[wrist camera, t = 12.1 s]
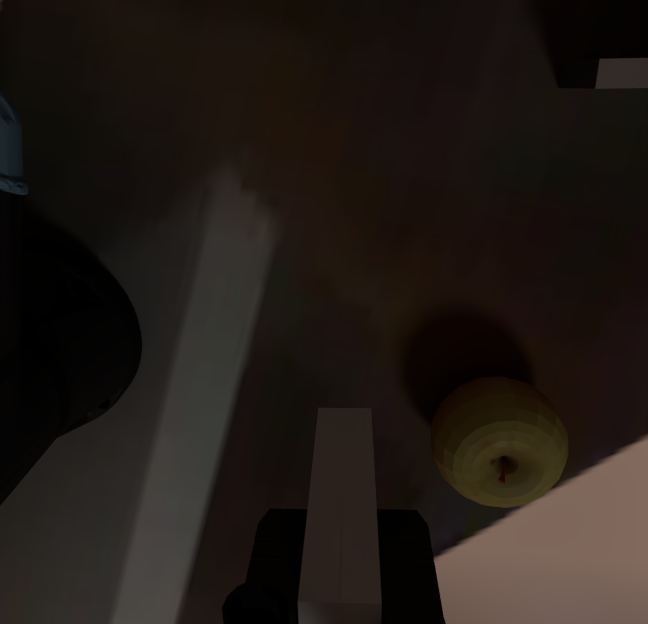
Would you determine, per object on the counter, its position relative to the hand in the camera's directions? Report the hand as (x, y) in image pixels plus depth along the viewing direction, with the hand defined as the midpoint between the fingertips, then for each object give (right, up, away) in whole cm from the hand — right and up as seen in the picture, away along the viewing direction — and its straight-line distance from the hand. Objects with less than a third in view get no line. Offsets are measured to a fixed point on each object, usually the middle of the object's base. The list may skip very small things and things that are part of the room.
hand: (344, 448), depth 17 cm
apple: (+13, -4, +30) cm, 33 cm away
